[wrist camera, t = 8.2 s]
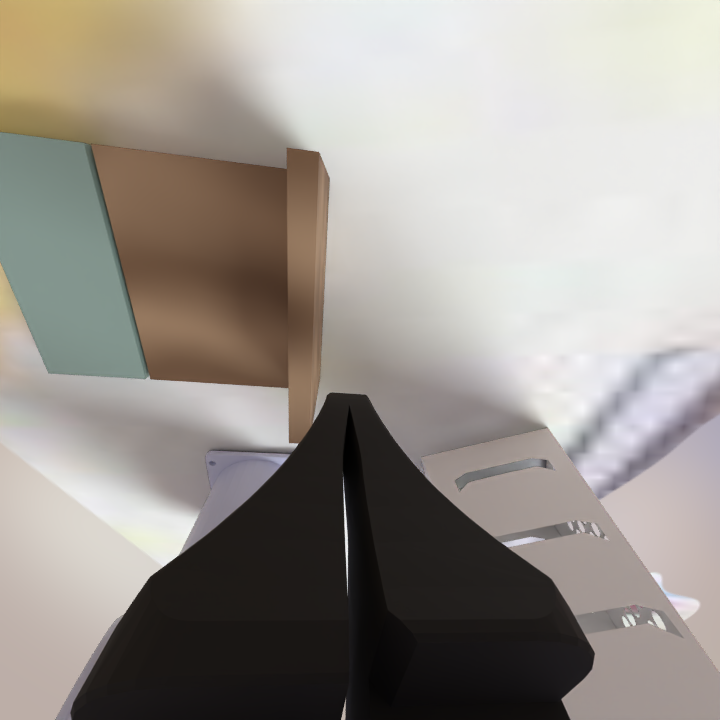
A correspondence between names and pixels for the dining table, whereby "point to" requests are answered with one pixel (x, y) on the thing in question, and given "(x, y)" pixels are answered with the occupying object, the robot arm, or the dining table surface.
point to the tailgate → (65, 259)
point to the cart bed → (224, 267)
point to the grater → (586, 580)
